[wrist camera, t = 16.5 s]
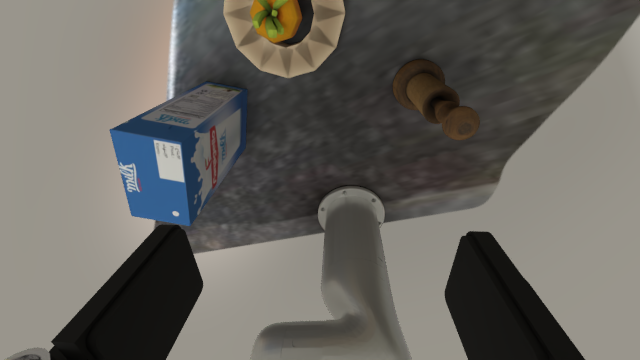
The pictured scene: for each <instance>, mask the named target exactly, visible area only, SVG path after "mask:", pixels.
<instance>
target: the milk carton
mask: <svg viewBox="0 0 640 360" xmlns="http://www.w3.org/2000/svg"><path fill="white" fill-rule="evenodd" d="M246 119H247V89H243V88H238V87H232V86H227V85H222V84H217V83H212V82H207V81H206V82H204V83H202V84H200V85H198V86H196V87H194V88H192V89H190V90H188V91H186V92H184V93H182V94H180V95H178V96H176V97H174V98H172V99H170V100H168V101H166V102H164V103H162V104H160V105H158V106H156V107H154V108H152V109H150V110H148V111H146V112H144V113H143V114H140V115H138V116H137V117H135V118H133V119H130V120H128V121H127V122H125V123H123V124H121V125H119V126H117V127H115V128H113V129H110V133H111V137H112V141H113V145H114V149H115V153H116V157H117V161H118V165H119V168H120V172H121V176H122V180H123V184H124V188H125V192H126V196H127V199H128V203H129V207H130V211H131V215H132V216H135V217H141V218H147V219H153V220H158V221H164V222H170V223H176V224H182V225H187V226H191V224H192V223H193V221H194V220H195V219H196V217H197V216H198V214H199V213H200V211H201V210H202V209H203V207H204V206H205V204H206V203H207V202H208V200H209V199H210V197H211V196H212V194H213V193H214V192H215V190H216V189H217V187H218V186H219V185H220V183H221V182H222V180H223V179H224V177H225V176H226V175H227V173H228V172H229V170H230V169H231V168H232V166H233V165H234V163H235V162H236V160H237V159H238V158H239V156H240V155H241V153H242V152H243V151H244V149H245V148H246Z"/></svg>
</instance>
